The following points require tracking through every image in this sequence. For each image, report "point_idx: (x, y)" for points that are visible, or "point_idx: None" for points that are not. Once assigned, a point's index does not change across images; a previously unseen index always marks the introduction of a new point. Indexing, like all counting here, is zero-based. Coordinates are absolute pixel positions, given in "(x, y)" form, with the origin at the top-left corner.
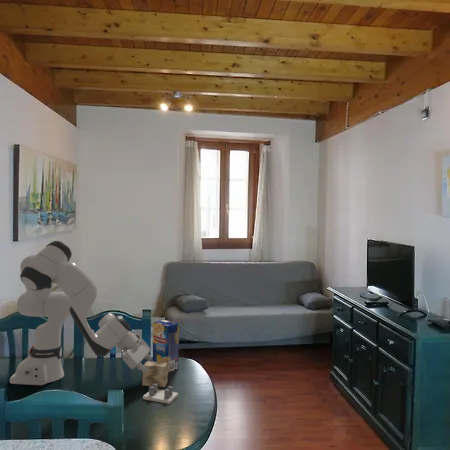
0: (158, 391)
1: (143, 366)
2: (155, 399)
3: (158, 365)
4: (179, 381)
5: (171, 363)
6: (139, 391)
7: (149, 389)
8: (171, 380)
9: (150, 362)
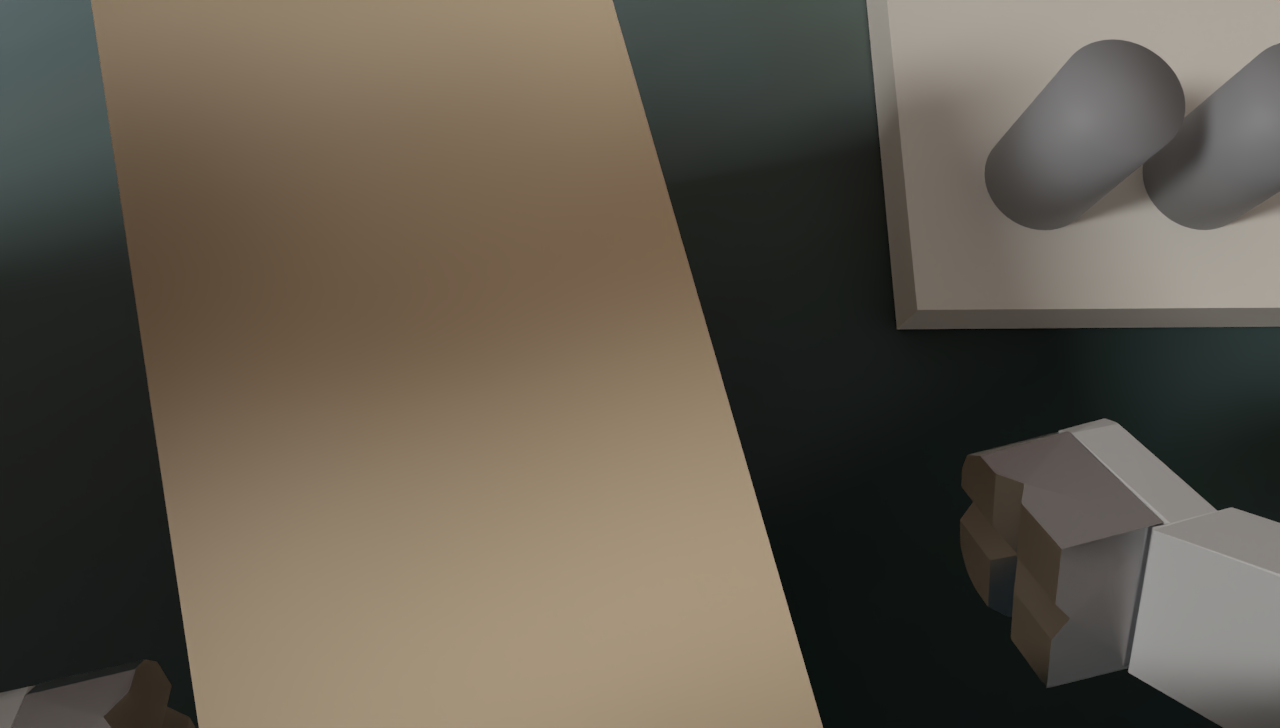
0: (991, 119)
1: (1262, 548)
2: (1275, 40)
3: (560, 135)
4: None
5: None
6: None
7: None
8: None
9: (332, 684)
